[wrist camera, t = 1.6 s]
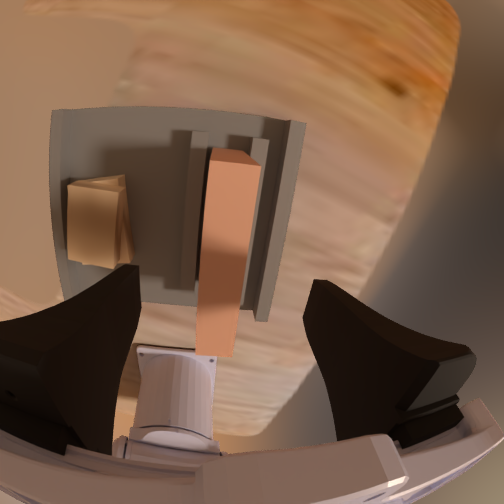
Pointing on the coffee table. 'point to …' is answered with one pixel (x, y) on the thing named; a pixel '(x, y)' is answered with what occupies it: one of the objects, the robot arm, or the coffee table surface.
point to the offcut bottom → (126, 233)
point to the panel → (224, 248)
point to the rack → (174, 192)
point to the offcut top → (95, 223)
